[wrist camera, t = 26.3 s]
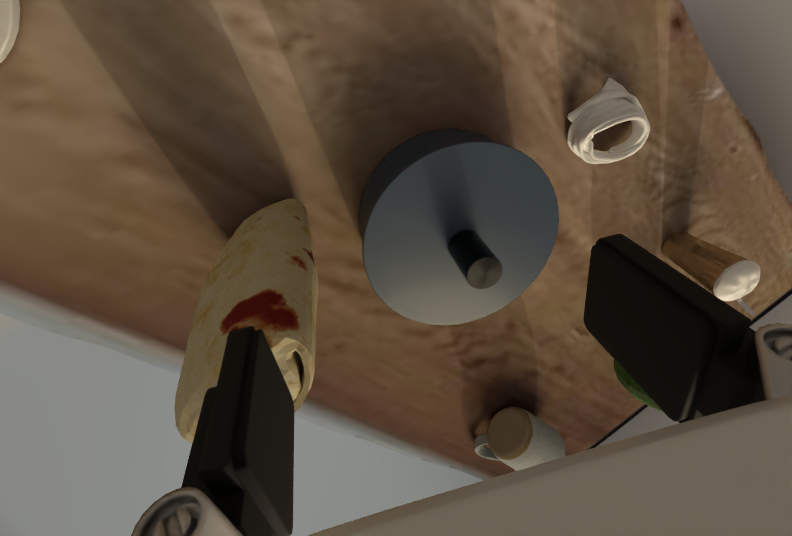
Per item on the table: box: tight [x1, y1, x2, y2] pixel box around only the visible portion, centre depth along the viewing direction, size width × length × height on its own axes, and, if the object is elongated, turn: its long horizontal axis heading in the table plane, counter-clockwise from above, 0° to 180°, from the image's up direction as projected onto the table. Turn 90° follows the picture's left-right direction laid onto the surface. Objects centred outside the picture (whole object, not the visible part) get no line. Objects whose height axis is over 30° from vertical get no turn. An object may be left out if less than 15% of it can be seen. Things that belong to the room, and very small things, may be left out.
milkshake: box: [662, 231, 760, 315], centre depth 43 cm, size 5×5×10 cm
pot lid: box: [362, 140, 559, 325], centre depth 33 cm, size 17×17×6 cm
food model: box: [175, 198, 318, 443], centre depth 29 cm, size 10×7×20 cm
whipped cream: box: [567, 77, 650, 164], centre depth 36 cm, size 8×7×5 cm
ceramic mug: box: [474, 407, 565, 471], centre depth 55 cm, size 11×8×8 cm
